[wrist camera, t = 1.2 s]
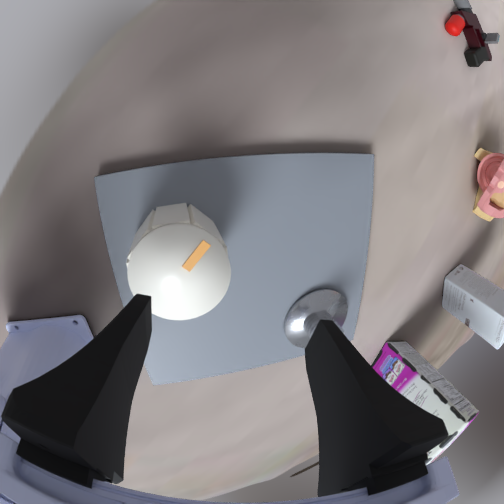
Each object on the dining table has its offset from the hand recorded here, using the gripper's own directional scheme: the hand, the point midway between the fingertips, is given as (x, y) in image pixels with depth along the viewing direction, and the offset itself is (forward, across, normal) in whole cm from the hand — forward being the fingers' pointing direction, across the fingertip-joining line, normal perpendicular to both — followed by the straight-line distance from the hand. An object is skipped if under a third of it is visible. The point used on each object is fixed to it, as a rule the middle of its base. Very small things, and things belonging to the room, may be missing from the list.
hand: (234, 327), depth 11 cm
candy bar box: (+12, -24, +19) cm, 32 cm away
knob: (+8, +4, +2) cm, 9 cm away
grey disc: (+11, -9, +8) cm, 16 cm away
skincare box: (+16, -32, +6) cm, 36 cm away
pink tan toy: (+18, -30, -9) cm, 37 cm away
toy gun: (+21, -22, -30) cm, 43 cm away
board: (+10, -2, +4) cm, 11 cm away
